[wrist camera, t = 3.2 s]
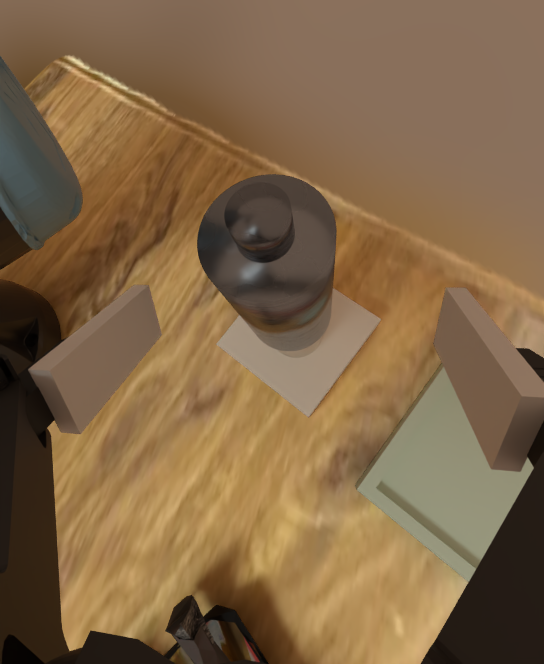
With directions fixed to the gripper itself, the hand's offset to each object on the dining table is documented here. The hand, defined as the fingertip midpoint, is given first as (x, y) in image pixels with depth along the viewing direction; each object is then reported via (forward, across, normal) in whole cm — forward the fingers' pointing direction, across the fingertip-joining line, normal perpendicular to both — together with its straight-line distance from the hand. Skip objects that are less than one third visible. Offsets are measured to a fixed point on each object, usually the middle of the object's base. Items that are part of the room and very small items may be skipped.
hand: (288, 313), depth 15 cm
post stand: (+12, -1, -9) cm, 15 cm away
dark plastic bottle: (+7, -1, -3) cm, 8 cm away
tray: (+5, +14, -16) cm, 22 cm away
